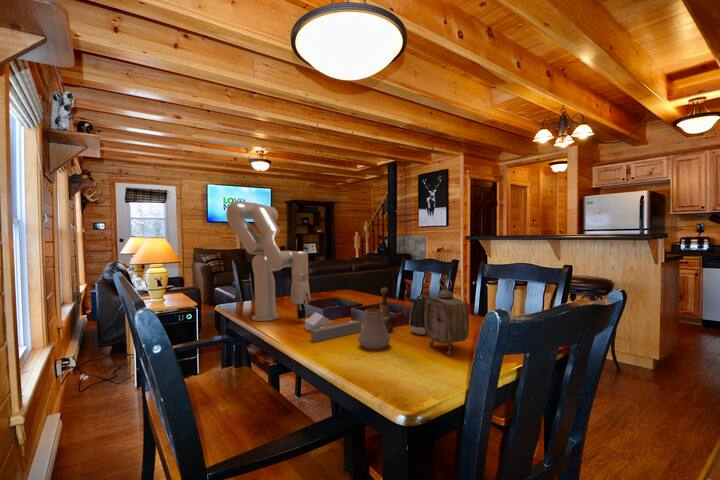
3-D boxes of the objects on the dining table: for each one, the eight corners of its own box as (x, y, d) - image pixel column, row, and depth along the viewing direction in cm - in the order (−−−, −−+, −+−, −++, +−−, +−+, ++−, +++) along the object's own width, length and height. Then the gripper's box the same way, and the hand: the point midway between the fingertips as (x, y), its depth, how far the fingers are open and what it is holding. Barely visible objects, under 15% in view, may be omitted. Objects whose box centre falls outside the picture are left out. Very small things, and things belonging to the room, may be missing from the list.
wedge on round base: (333, 330, 145) (321, 324, 156) (333, 314, 145) (320, 309, 156) (313, 334, 141) (302, 326, 152) (313, 317, 140) (301, 311, 152)
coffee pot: (351, 346, 124) (350, 304, 124) (373, 339, 132) (373, 300, 132) (398, 361, 109) (397, 313, 109) (419, 352, 117) (419, 308, 117)
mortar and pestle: (374, 332, 142) (374, 288, 142) (379, 328, 148) (379, 285, 148) (390, 333, 139) (389, 288, 139) (394, 329, 145) (394, 286, 145)
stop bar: (311, 340, 131) (310, 328, 131) (356, 330, 145) (356, 319, 145) (315, 342, 129) (315, 330, 129) (361, 331, 143) (361, 320, 143)
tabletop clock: (424, 345, 125) (423, 275, 124) (445, 342, 128) (444, 274, 128) (448, 358, 111) (448, 280, 111) (471, 354, 115) (471, 278, 114)
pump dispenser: (404, 331, 143) (404, 294, 143) (427, 328, 146) (426, 292, 146) (415, 337, 134) (415, 298, 133) (439, 335, 137) (439, 296, 137)
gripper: (285, 277, 163) (286, 317, 163) (301, 280, 151) (302, 322, 151) (299, 276, 167) (300, 314, 168) (316, 278, 156) (317, 319, 156)
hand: (301, 318), depth 159 cm, fingers closed
